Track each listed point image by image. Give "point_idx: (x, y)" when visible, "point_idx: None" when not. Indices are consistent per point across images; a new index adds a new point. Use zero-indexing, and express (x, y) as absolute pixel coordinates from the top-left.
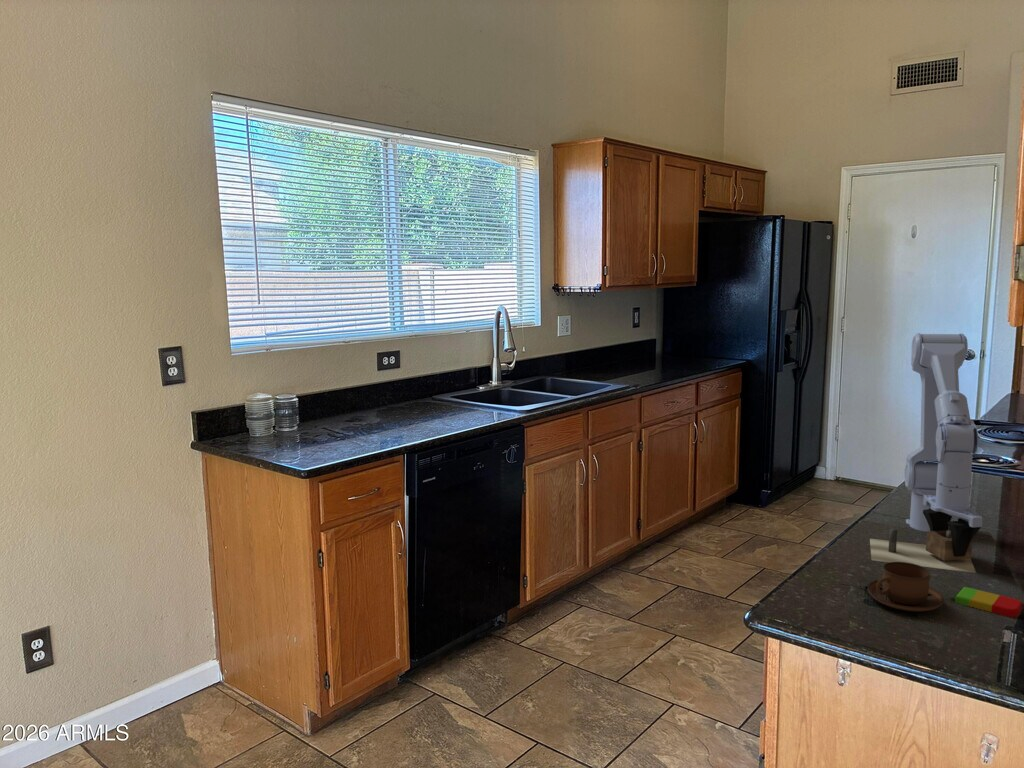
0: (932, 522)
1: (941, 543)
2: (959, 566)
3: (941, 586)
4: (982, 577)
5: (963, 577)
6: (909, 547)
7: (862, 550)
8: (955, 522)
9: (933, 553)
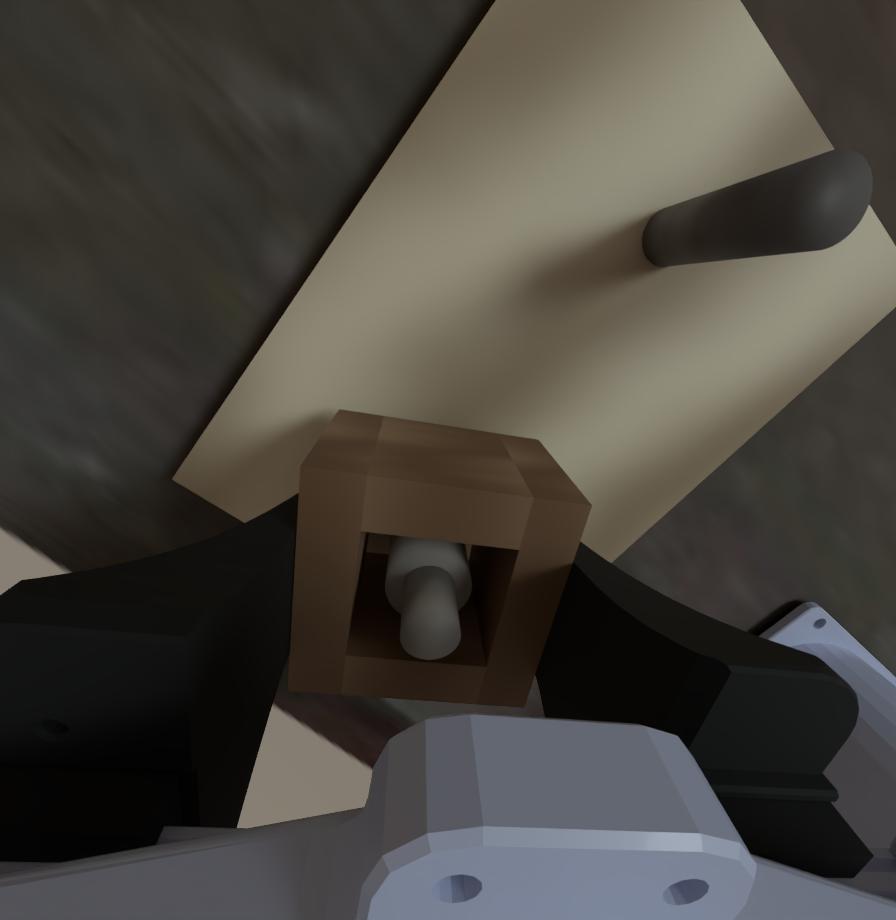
0: (614, 613)
1: (365, 455)
2: (286, 464)
3: (63, 116)
4: (194, 505)
5: (208, 407)
6: (656, 420)
7: (840, 103)
8: (100, 712)
9: (455, 428)
